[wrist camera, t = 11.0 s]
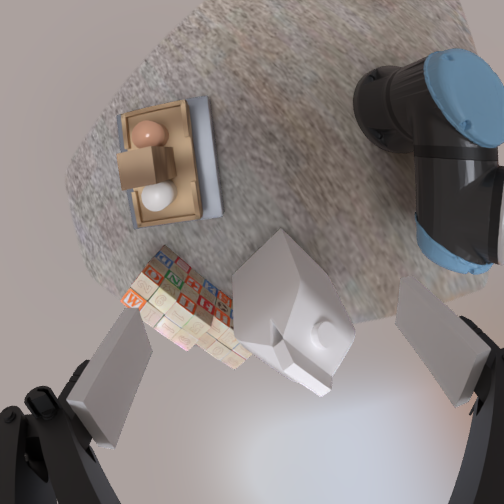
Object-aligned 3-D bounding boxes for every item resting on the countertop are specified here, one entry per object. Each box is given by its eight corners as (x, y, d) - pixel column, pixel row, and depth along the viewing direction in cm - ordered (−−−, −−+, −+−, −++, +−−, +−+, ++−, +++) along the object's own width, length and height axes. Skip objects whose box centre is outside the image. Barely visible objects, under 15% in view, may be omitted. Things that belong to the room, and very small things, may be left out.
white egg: (175, 176, 38) (166, 179, 34) (179, 202, 39) (171, 208, 35) (150, 181, 38) (138, 185, 34) (154, 207, 39) (144, 213, 35)
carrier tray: (132, 117, 38) (91, 107, 26) (190, 104, 38) (168, 85, 26) (147, 220, 43) (113, 246, 31) (205, 212, 43) (188, 236, 31)
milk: (232, 275, 51) (220, 382, 26) (280, 227, 48) (315, 307, 24) (280, 317, 54) (302, 430, 29) (328, 274, 51) (386, 372, 27)
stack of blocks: (258, 318, 54) (260, 361, 42) (235, 339, 55) (233, 383, 44) (164, 243, 49) (140, 271, 37) (144, 269, 50) (118, 301, 39)
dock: (210, 100, 41) (206, 95, 38) (224, 211, 47) (222, 216, 43) (126, 117, 42) (116, 115, 38) (142, 223, 48) (134, 229, 44)
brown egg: (169, 122, 36) (159, 119, 31) (168, 149, 37) (159, 148, 32) (143, 124, 35) (131, 121, 31) (143, 150, 37) (131, 150, 32)
